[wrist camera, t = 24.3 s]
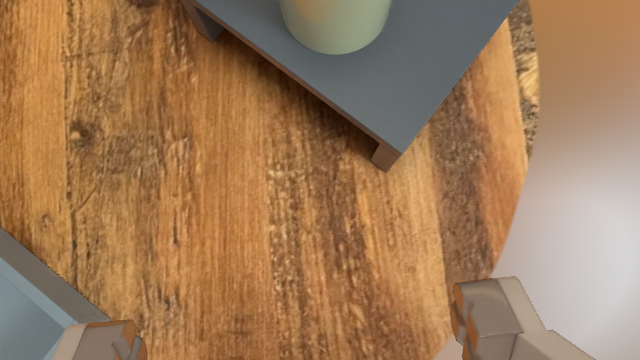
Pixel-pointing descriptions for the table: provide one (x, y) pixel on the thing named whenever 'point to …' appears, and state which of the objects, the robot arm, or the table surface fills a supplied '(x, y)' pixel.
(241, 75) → the table surface
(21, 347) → the open bin
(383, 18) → the cup
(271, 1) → the shelf
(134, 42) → the table surface
